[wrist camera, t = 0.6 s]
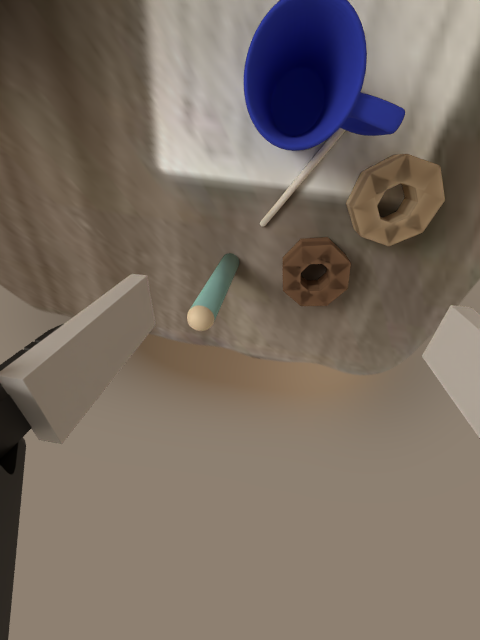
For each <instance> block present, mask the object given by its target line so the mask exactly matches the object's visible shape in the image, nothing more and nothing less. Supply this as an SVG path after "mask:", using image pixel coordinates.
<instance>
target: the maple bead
mask: <svg viewBox="0 0 480 640" xmlns="http://www.w3.org/2000/svg"><path fill="white" fill-rule="evenodd" d="M398 184H401V185H402V187H403V192H404V197H405V198H404V200H403V202H402V203H401V205H400V207H399V208H398V210H397V211H396V212H394V213H392V214H390V215H388V216H385V217H383V218H382V217H380V216H379V212H378V208H377V205H378V203H379V201H380V200H381V198H382V196H383V194H384V192H385V191H386V190H388V189H390V188H392V187H394V186H396V185H398ZM444 201H445V196H444V189H443V182H442V175H441V168H440V166H439V165H437V164H434V163H431V162H428V161H426V160H423V159H420V158H417V157H414V156H412V155H409V154H399V155H393V156H391V157H389V158H387V159H385V160H383V161H381V162H379V163H378V164H376V165H374V166H372V167H370V168H368V169H366V170H364V171H362V172H361V174H360V176H359V178H358V180H357V182H356V184H355V186H354V188H353V190H352V192H351V194H350V196H349V198H348V200H347V202H346V205H347V208H348V212H349V215H350V218H351V221H352V224H353V228H354V230H355V231H356V232H357V233H358V234H359V235H360V236H361V237H364V238H367V239H370V240H373V241H375V242H378V243H381V244H384V245H387V246H390V245H393V244H395V243H398V242H400V241H403V240H405V239H408V238H410V237H413V236H415V235H417V234H420V233H422V232H423V231H424V230H425V228H426V227H427V225H428V224H429V222H430V221H431V219H432V218H433V217H434V215H435V214H436V212H437V211H438V209H439V208H440V207H441V205H442V204H443V202H444Z"/></svg>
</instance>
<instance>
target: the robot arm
mask: <svg viewBox="0 0 480 640" xmlns="http://www.w3.org/2000/svg"><path fill="white" fill-rule="evenodd" d="M155 325H156V323H155V317H154V312H153V306H152V300H151V294H150V289H149V283H148V277H147V275H138V274H131V275H130V276H128V277H127V278H126V279H124V280H123V281H121V282H120V283H119V284H117V285H116V286H115V287H113V288H112V289H111V290H109V291H108V292H107V293H105V294H104V295H103V296H101V297H100V298H99V299H97V300H96V301H94V302H93V303H92V304H90V305H89V306H88V307H86V308H85V309H84V310H82V311H81V312H80V313H78V314H77V315H76V316H74V317H73V318H72V319H70V320H69V321H68V322H66V323H65V324H62V325H60V326H57V327H55V328H53V329H51V330H48V331H47V332H45V333H44V334H43V335H41V336H40V337H38V338H37V339H36V340H35V342H31V343H30V344H29V345H27V346H26V347H25V348H24V350H20V351H19V352H18V353H16V354H15V355H13V356H12V357H11V358H9V359H8V360H7V361H5V362H4V363H3V364H1V365H0V640H8V634H9V622H10V612H11V602H12V601H11V600H12V591H13V580H14V570H15V559H16V548H17V537H18V527H19V515H20V505H21V494H22V484H23V472H24V462H25V451H26V444H25V440H24V439H23V436H24V435H25V434H26V433H27V432H28V431H29V430H30V429H32V430H33V432H34V433H35V434H36V436H37V437H38V439H39V440H43V441H48V442H54V443H60V444H62V443H63V442H64V441H65V439H66V438H67V437H68V436H69V434H70V433H71V432H72V431H73V429H74V428H75V427H76V426H77V424H78V423H79V422H80V420H81V419H82V418H83V417H84V415H85V414H86V413H87V411H88V410H89V409H90V408H91V406H92V405H93V404H94V402H95V401H96V400H97V399H98V398H99V396H100V395H101V394H102V392H103V391H104V390H105V388H106V387H107V386H108V385H109V384H110V382H111V381H112V380H113V378H114V377H115V376H116V374H117V373H118V372H119V371H120V370H121V368H122V367H123V366H124V364H125V363H126V362H127V360H128V359H129V358H130V357H131V356H132V354H133V353H134V352H135V350H136V349H137V348H138V347H139V345H140V344H141V343H142V342H143V340H144V339H145V338H146V336H147V335H148V334H149V333H150V331H151V330H152V329H153V327H154V326H155ZM422 357H423V358H424V360H425V362H426V363H427V364H428V366H429V367H430V369H431V370H432V372H433V373H434V374H435V376H436V377H437V379H438V380H439V381H440V383H441V384H442V386H443V387H444V389H445V390H446V391H447V393H448V394H449V396H450V397H451V399H452V400H453V401H454V403H455V404H456V406H457V407H458V409H459V410H460V411H461V413H462V414H463V416H464V417H465V418H466V420H467V421H468V423H469V424H470V426H471V427H472V429H473V430H474V431H475V433H476V434H477V436H478V437H479V438H480V314H479V313H478V312H477V311H475V310H474V309H473V308H472V307H465V306H455V305H451V306H450V307H449V309H448V311H447V313H446V314H445V316H444V318H443V320H442V321H441V323H440V325H439V327H438V329H437V330H436V332H435V334H434V336H433V337H432V339H431V341H430V343H429V344H428V346H427V348H426V350H425V352H424V353H423V355H422Z"/></svg>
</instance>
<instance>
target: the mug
mask: <svg viewBox="0 0 480 640" xmlns="http://www.w3.org/2000/svg"><path fill="white" fill-rule="evenodd" d="M366 59H367V51H366V40H365V34H364V30H363V27H362V24H361V21H360V19H359V17H358V15H357V13H356V11H355V10H354V8H353V7H352V5H351V4H350V3H349V2H348V1H347V0H280V1H279V2H278V3H277V4H275V5H274V6H273V7H272V8H271V10H270V11H269V12H268V13H267V14H266V16H265V17H264V18H263V20H262V21H261V23H260V25H259V26H258V28H257V30H256V32H255V34H254V36H253V39H252V41H251V44H250V47H249V50H248V54H247V58H246V63H245V70H244V94H245V101H246V105H247V109H248V112H249V115H250V117H251V120H252V122H253V124H254V125H255V127H256V129H257V130H258V131H259V133H260V134H261V135H262V136H263V137H264V138H265V139H266V140H267V141H268V142H270V143H271V144H273V145H275V146H277V147H279V148H282V149H285V150H292V151H298V150H305V149H309V148H312V147H314V146H317V145H319V144H321V143H322V142H324V141H325V140H327V139H328V138H329V137H331V136H332V135H333V134H334V133H335V132H336V131H337V130H338V129H339V128H342V129H344V130H347V131H349V132H352V133H356V134H360V135H368V136H376V135H387V134H393V133H394V132H395V131H396V130H397V129H398V128H399V126H400V125H401V123H402V120H403V118H404V116H405V110H404V109H403V108H401V107H399V106H397V105H395V104H392V103H390V102H388V101H385V100H383V99H380V98H378V97H374V96H371V95H368V94H364V93H361V92H360V91H361V88H362V85H363V81H364V76H365V71H366Z"/></svg>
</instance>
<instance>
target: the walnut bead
mask: <svg viewBox="0 0 480 640" xmlns="http://www.w3.org/2000/svg"><path fill="white" fill-rule="evenodd" d="M309 264H323V265H324V266H326V273H325V274H324V275H322V276H321V277H320V278H319V279H318V280H306V279H305V278H303V277H302V276H301V272H302V271H303V270H304V269H305V268H306V267H307V266H308V265H309ZM350 267H351V263H350V261H349V259H348V258H347V256H346V255H345V254H344V253H343V252H342V251H341V250H340V249H339V248H338V247H337V246H336V245H335V244H334V243H333V242H332V241H331V240H330V239H329V238H328V237H321V238H307V239H300V240H299V241H298V242H297V243H296V244H295V245H294V246H293V247H292V249H291V250H290V251H289V252H288V253H287V254H286V255H285V256H284V257H283V291H284V292H285V293H286V294H287V295H288V296H290V297H291V298H292V299H293V300H294V301H296V302H297V303H298V304H299V305H300V306H327V305H328V304H329V303H331V302H332V301H333V300H334V299H336V298H337V297H338V296H339V295H341V294H342V293H343V292H344V291H346V290H347V289H348V282H349V275H350Z"/></svg>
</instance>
